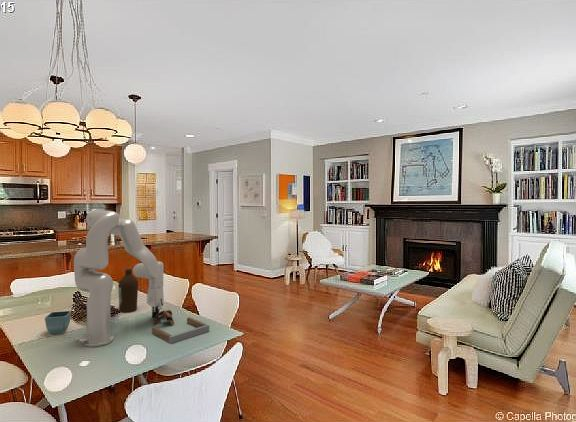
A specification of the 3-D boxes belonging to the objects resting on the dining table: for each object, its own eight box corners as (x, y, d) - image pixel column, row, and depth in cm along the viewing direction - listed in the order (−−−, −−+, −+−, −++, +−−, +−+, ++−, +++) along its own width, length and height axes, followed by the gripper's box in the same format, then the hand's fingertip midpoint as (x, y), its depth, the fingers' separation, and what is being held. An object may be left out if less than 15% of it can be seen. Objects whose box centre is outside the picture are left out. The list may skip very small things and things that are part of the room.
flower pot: (44, 336, 162) (44, 317, 162) (51, 329, 171) (51, 311, 170) (65, 335, 164) (65, 316, 164) (71, 328, 173) (71, 310, 173)
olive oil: (137, 306, 210) (138, 265, 209) (138, 311, 200) (138, 269, 200) (118, 308, 205) (118, 266, 204) (118, 314, 196) (118, 270, 195)
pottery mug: (171, 329, 177) (163, 316, 175) (156, 335, 178) (147, 323, 176) (180, 315, 188) (172, 303, 186) (165, 321, 190) (157, 310, 188)
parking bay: (170, 343, 157) (171, 337, 157) (151, 333, 169) (152, 327, 169) (209, 331, 173) (209, 325, 173) (189, 322, 185) (189, 317, 185)
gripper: (142, 283, 189) (142, 316, 189) (156, 288, 179) (156, 323, 180) (155, 281, 195) (155, 313, 195) (169, 285, 185) (169, 319, 185)
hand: (155, 318), depth 187 cm, fingers closed
